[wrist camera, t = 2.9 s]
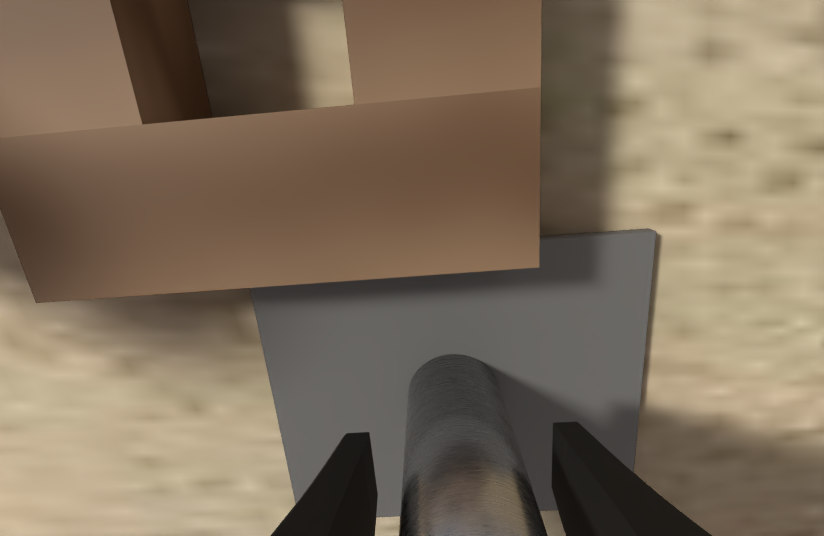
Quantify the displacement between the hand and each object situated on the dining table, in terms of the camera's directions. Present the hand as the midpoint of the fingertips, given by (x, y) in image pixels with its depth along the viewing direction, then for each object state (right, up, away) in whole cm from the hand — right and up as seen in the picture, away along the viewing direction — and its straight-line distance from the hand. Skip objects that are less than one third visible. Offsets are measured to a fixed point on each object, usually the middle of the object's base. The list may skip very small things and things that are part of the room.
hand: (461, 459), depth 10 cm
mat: (0, +1, +3) cm, 3 cm away
